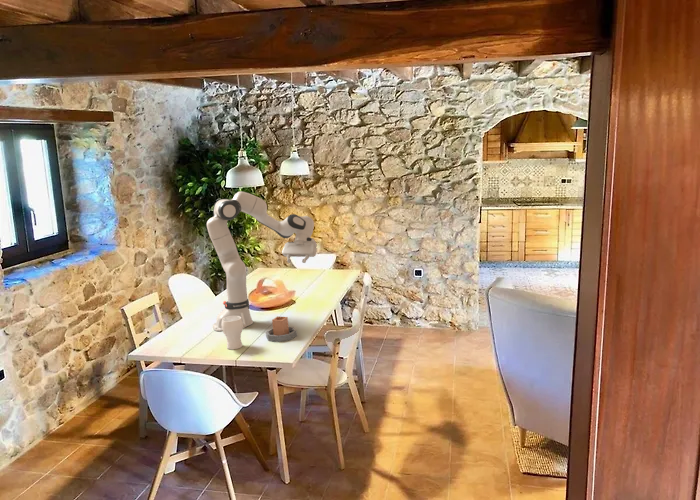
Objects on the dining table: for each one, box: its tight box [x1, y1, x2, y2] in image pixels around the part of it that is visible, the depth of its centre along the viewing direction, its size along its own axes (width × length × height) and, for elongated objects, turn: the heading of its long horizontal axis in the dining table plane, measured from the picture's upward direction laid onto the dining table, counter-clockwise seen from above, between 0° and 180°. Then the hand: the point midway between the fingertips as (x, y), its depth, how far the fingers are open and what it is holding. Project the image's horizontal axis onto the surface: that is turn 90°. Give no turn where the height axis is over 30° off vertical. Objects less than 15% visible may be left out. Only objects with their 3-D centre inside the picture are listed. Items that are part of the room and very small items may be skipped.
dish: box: [265, 326, 298, 343], centre depth 304 cm, size 15×15×3 cm
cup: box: [221, 316, 244, 350], centre depth 293 cm, size 11×11×15 cm
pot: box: [271, 316, 290, 336], centre depth 304 cm, size 6×6×9 cm
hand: (296, 262), depth 326 cm, fingers open, 8 cm apart
